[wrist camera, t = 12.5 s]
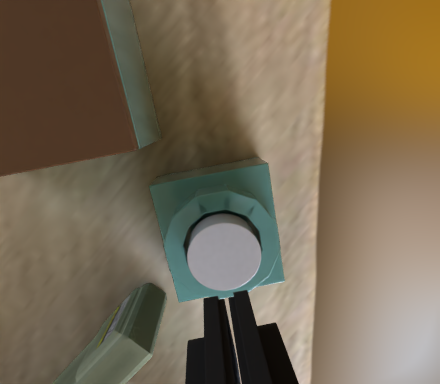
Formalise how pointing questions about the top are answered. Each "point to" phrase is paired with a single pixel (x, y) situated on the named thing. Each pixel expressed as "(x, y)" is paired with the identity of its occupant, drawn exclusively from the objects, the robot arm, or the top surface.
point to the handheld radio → (120, 341)
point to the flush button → (223, 252)
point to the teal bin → (132, 70)
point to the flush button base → (215, 204)
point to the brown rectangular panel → (59, 86)
